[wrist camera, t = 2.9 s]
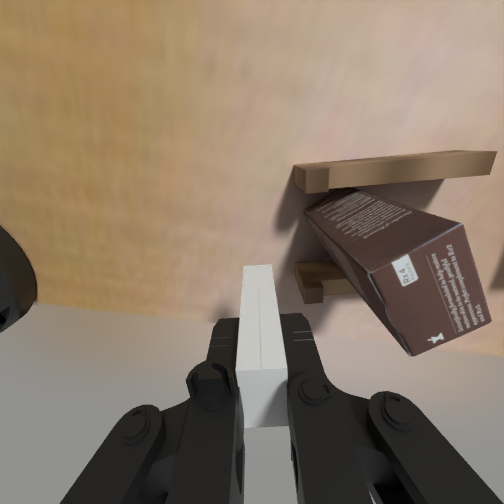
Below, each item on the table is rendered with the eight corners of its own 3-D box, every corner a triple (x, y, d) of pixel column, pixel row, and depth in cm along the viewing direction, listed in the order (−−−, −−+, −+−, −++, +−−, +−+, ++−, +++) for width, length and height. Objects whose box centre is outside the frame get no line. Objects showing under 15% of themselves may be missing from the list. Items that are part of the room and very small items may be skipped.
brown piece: (295, 276, 24) (304, 304, 20) (294, 164, 19) (306, 170, 15) (426, 266, 23) (463, 292, 19) (455, 150, 19) (512, 151, 15)
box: (373, 235, 22) (498, 325, 11) (329, 259, 23) (404, 363, 12) (348, 179, 20) (470, 221, 9) (300, 208, 21) (358, 278, 10)
